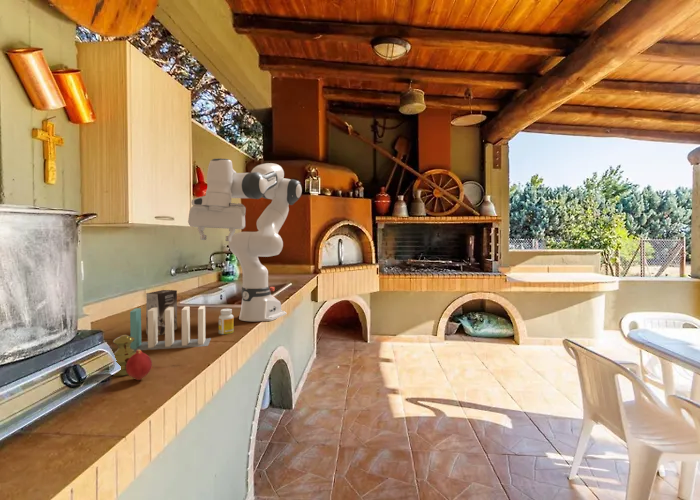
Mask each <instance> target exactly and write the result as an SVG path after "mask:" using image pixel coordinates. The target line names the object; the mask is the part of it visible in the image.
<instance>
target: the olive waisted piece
mask: <svg viewBox="0 0 700 500" xmlns="http://www.w3.org/2000/svg"><path fill="white" fill-rule="evenodd" d="M134 340H135V338H134V337H131V336H130V335H128V334H122V335H120V336H118V337H116V338H114V339H113V341H112V343H113V344H115V345H116V346H117V350H115V351H114V352H113V354H114V355H115V358H116V360H117V361H116V362H117V363H118V364H119V365H120V366H121V370H120V371H119V372H118V373H116V374H115V375H114V376H113V377H123V376H129V375H128V373H127V372H126V364H127V361H128V360H129V358H130V357H131V356H132V355H134V354H135V353H136V351H134V349H132V348H131V347H130V344H131V343H132V342H133V341H134Z"/></svg>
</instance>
